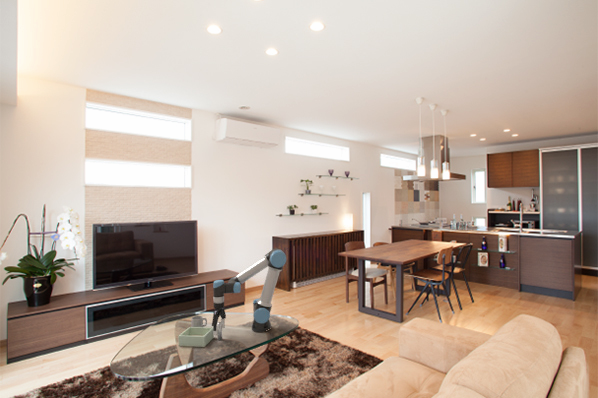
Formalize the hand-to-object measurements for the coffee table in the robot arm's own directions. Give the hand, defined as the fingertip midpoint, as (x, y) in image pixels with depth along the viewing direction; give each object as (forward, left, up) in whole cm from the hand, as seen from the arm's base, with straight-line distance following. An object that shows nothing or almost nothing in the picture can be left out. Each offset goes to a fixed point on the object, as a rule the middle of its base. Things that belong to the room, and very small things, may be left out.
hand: (219, 331), depth 241 cm
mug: (+22, -13, -6) cm, 26 cm away
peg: (0, 0, -6) cm, 6 cm away
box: (+15, +5, -6) cm, 17 cm away
